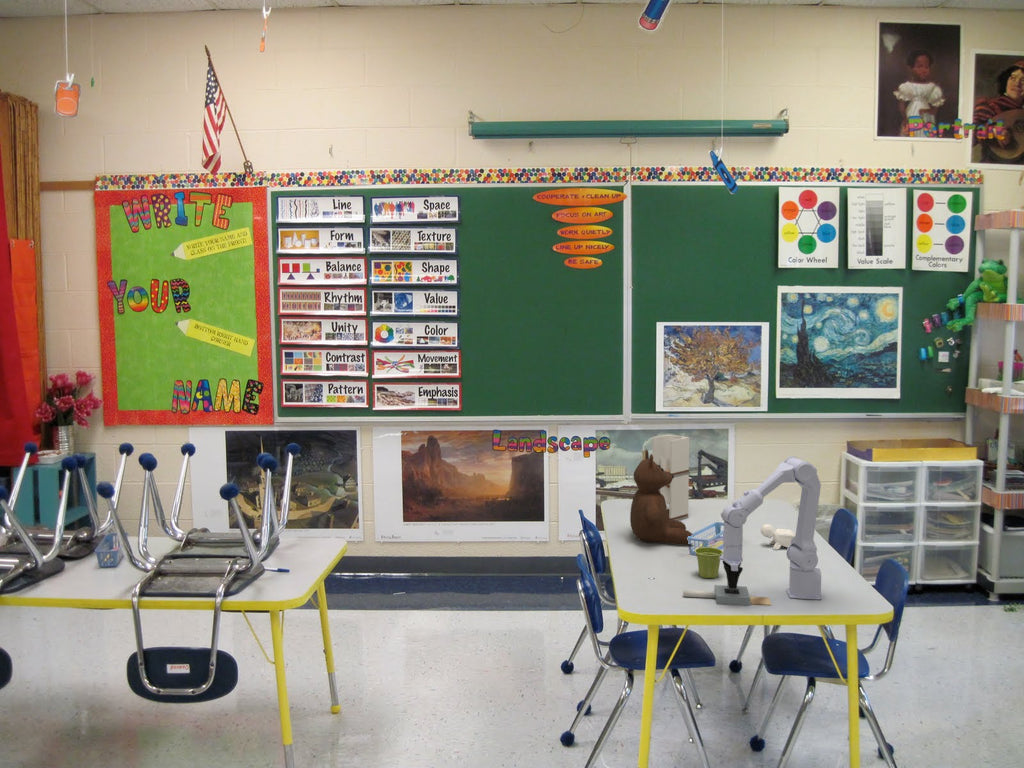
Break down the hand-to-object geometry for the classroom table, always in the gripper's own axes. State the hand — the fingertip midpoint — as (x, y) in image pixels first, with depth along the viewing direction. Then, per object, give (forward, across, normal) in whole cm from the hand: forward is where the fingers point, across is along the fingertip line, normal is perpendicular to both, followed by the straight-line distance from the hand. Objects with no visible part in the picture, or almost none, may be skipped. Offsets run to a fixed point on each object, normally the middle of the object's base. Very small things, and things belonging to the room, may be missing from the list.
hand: (732, 586), depth 264 cm
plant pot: (+4, -21, -6) cm, 22 cm away
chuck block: (+4, 0, -5) cm, 7 cm away
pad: (+4, +1, +8) cm, 10 cm away
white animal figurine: (+4, -58, +23) cm, 62 cm away
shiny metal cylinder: (+3, 0, 0) cm, 3 cm away
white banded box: (+4, -93, -18) cm, 95 cm away
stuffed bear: (+4, -60, -22) cm, 64 cm away
